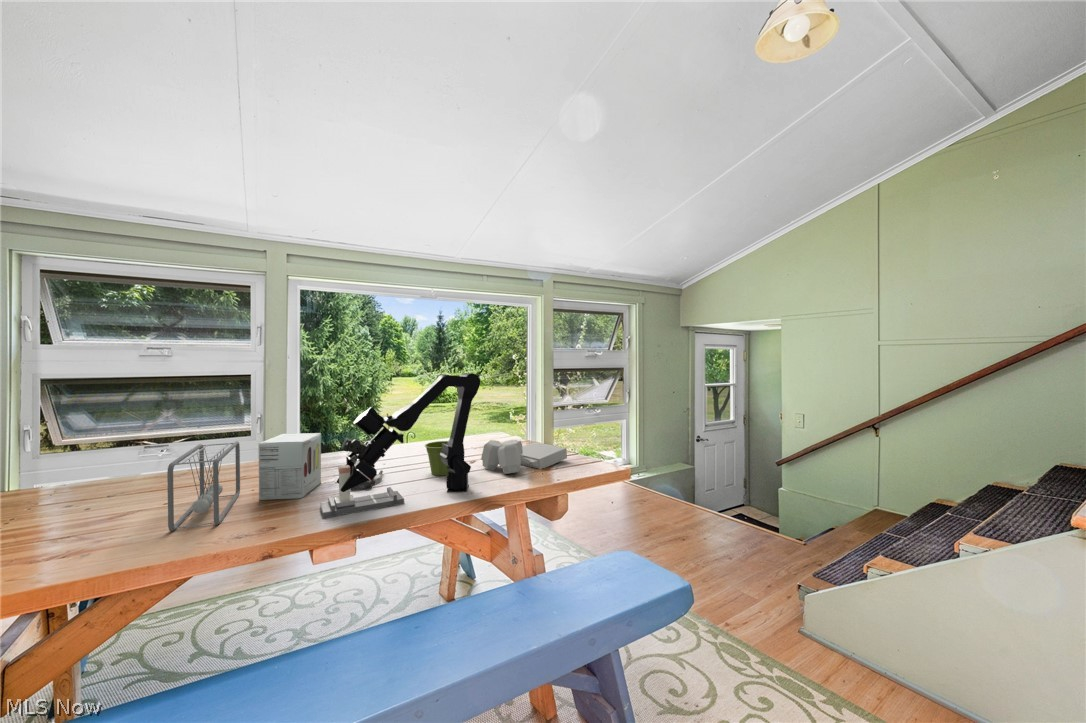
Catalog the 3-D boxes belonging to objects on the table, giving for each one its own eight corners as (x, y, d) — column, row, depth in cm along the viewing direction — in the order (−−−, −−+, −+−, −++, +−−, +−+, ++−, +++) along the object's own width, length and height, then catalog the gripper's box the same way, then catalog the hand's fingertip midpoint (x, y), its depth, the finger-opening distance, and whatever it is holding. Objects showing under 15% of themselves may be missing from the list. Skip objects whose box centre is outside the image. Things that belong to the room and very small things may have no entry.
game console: (568, 458, 180) (565, 428, 179) (511, 483, 157) (508, 449, 156) (535, 451, 194) (532, 423, 193) (478, 473, 171) (475, 441, 170)
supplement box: (303, 498, 135) (303, 441, 135) (257, 501, 133) (257, 443, 132) (322, 482, 152) (322, 432, 152) (282, 484, 150) (281, 433, 149)
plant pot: (432, 468, 170) (432, 440, 170) (460, 469, 169) (460, 441, 168) (419, 477, 159) (419, 446, 158) (450, 478, 157) (450, 447, 157)
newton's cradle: (218, 527, 113) (217, 460, 112) (167, 534, 108) (166, 464, 108) (240, 494, 140) (239, 439, 139) (200, 498, 135) (199, 442, 135)
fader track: (397, 495, 138) (397, 486, 138) (404, 503, 130) (404, 493, 130) (320, 508, 126) (320, 498, 126) (323, 518, 119) (323, 507, 118)
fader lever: (352, 498, 129) (352, 463, 129) (355, 504, 124) (355, 467, 124) (334, 501, 127) (333, 465, 127) (336, 507, 122) (336, 470, 121)
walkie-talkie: (376, 490, 144) (384, 474, 163) (376, 477, 144) (384, 463, 163) (348, 492, 142) (360, 476, 161) (348, 479, 142) (360, 464, 161)
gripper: (354, 423, 135) (315, 463, 130) (364, 432, 119) (320, 478, 114) (380, 445, 140) (343, 484, 134) (393, 457, 124) (352, 502, 118)
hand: (339, 486), depth 125 cm, fingers open, 9 cm apart
